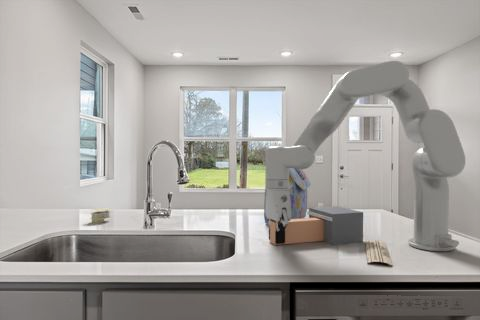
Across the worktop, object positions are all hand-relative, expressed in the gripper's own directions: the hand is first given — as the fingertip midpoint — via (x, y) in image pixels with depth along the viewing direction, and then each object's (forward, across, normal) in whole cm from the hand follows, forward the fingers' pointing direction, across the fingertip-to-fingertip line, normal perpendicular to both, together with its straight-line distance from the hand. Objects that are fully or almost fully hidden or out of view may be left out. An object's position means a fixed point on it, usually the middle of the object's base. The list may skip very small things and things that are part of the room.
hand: (276, 240), depth 112 cm
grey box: (+1, 0, -22) cm, 22 cm away
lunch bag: (+1, +32, -21) cm, 38 cm away
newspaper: (+2, -20, -23) cm, 31 cm away
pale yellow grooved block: (+1, +57, +54) cm, 79 cm away
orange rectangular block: (+1, 0, -8) cm, 8 cm away
